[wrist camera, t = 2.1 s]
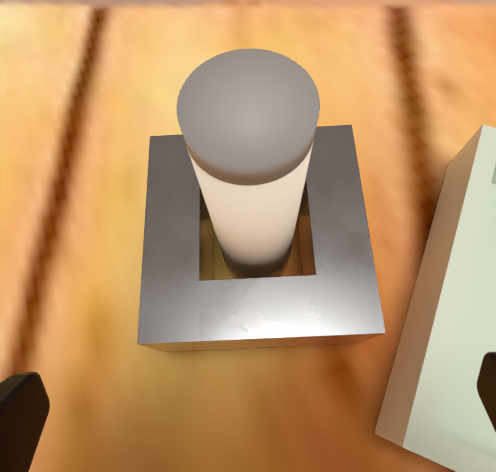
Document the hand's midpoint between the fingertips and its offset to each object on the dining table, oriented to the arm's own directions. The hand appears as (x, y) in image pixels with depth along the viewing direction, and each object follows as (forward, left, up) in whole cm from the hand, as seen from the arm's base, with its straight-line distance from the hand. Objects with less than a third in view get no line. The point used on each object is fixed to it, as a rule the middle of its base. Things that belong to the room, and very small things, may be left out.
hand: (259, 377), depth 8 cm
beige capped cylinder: (+5, +5, -12) cm, 14 cm away
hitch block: (+5, +5, -12) cm, 14 cm away
